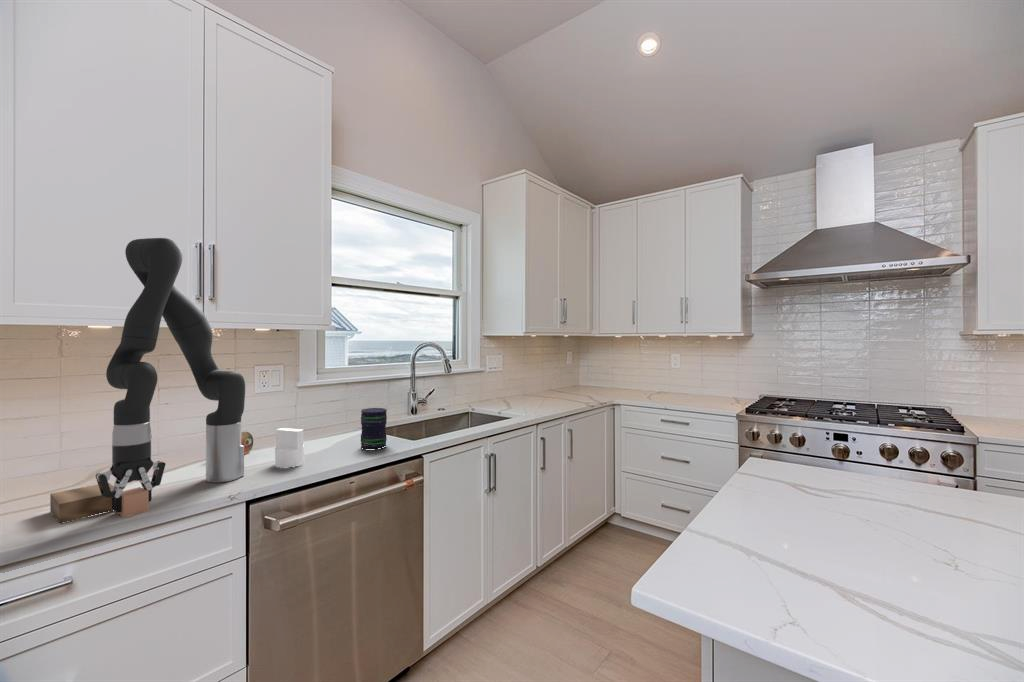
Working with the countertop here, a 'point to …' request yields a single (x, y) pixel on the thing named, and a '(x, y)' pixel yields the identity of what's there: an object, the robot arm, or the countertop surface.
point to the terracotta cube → (134, 501)
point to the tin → (246, 441)
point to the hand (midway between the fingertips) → (132, 507)
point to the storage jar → (373, 428)
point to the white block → (289, 447)
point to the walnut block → (79, 503)
